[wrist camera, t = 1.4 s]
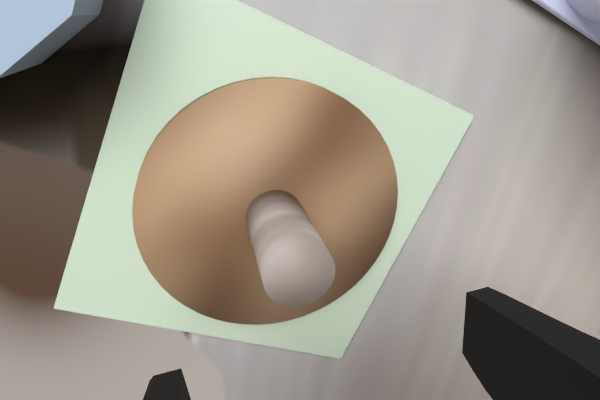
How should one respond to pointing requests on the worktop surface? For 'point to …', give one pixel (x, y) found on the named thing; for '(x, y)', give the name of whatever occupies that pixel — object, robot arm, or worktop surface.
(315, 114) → the lid
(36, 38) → the bowl
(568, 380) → the robot arm
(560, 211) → the worktop surface
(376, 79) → the mat
